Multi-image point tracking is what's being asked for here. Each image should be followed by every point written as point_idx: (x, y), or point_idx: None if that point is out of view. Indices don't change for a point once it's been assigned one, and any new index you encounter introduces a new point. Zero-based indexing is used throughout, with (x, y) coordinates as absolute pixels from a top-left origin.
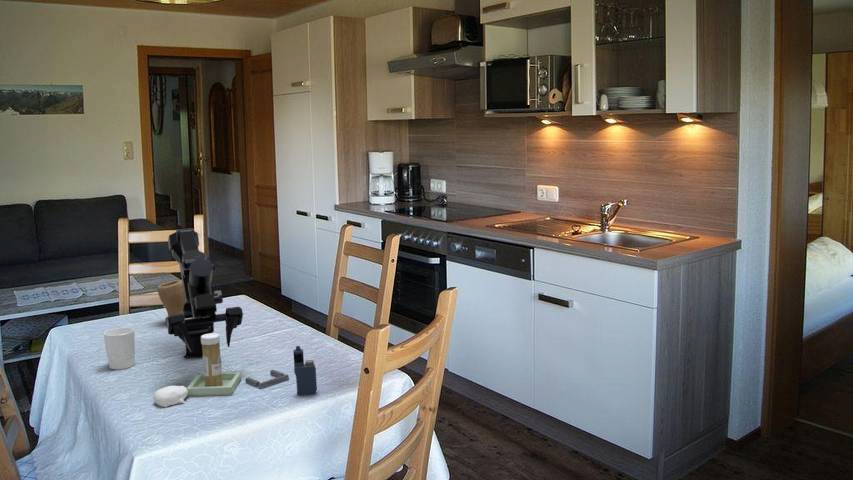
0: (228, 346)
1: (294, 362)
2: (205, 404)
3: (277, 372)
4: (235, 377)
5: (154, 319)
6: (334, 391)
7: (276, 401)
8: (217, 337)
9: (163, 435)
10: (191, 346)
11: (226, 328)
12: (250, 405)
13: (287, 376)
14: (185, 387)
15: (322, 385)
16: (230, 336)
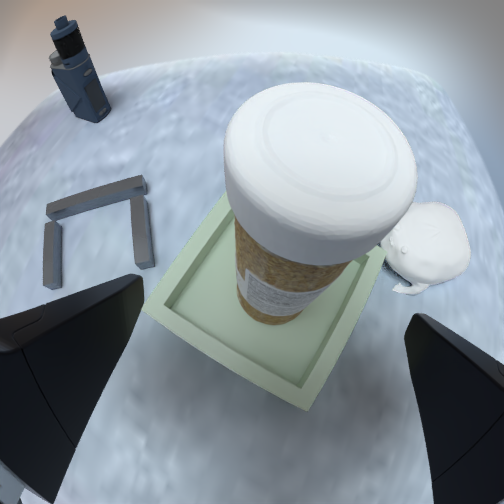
0: (141, 291)
1: (84, 48)
2: None
3: (49, 247)
4: (186, 257)
5: None
6: (58, 103)
7: (166, 98)
8: (266, 92)
9: (414, 97)
10: (432, 324)
11: (41, 419)
12: (226, 104)
13: (51, 204)
14: (395, 227)
15: (44, 137)
16: (80, 291)
